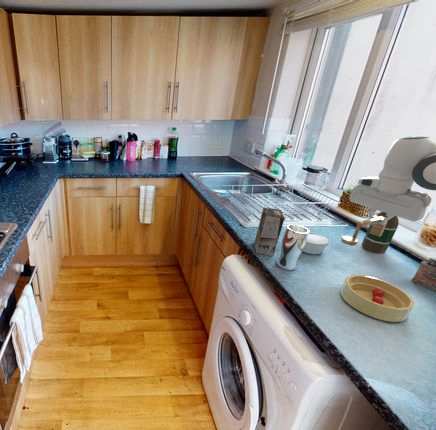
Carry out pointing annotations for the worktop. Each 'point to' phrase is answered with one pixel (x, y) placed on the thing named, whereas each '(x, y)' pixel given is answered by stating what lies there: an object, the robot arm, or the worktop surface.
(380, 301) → the tomato
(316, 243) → the ramekin
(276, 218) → the coffee box
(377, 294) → the tomato
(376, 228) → the brass bent handle
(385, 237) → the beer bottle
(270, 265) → the worktop surface
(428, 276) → the red printed box
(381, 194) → the robot arm
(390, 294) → the bowl
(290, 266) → the beer glass
